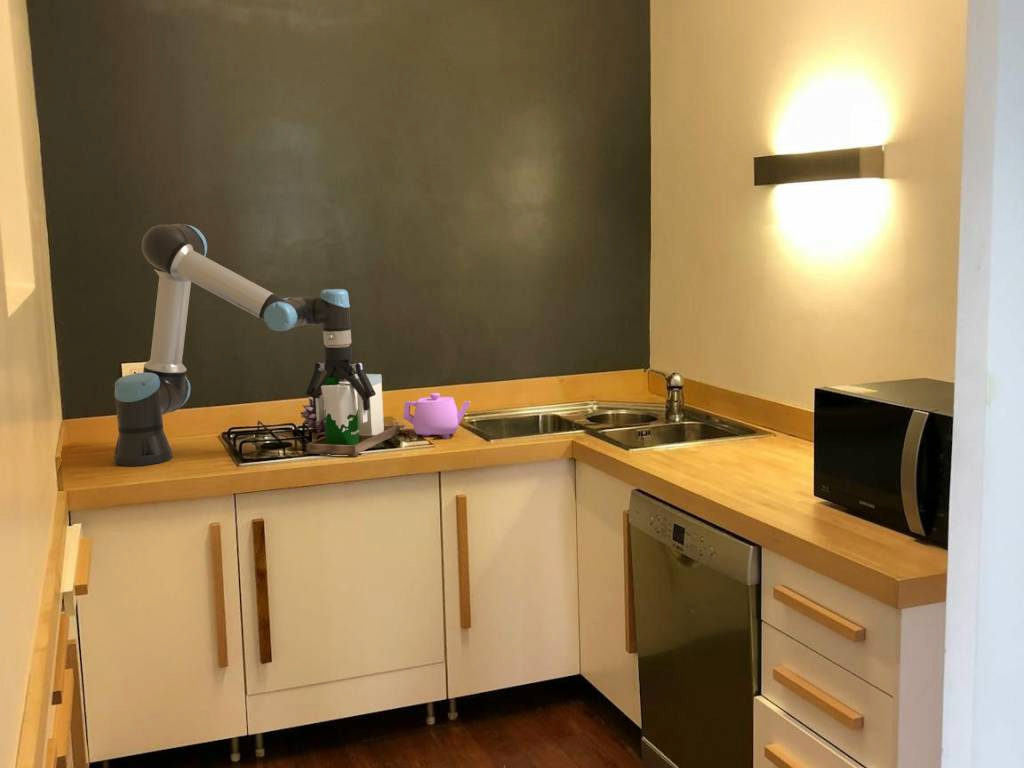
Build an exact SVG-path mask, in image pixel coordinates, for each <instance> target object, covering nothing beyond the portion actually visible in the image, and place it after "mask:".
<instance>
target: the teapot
mask: <svg viewBox="0 0 1024 768" xmlns="http://www.w3.org/2000/svg"><path fill="white" fill-rule="evenodd" d="M429 396H430V397H428V396H427V397H420V398H419V399H418V400H414V401H413V400H412V401H411V400H407V401H406V400H405V402H404V405H403V415H402V419H404V420H405V421H407V422H408V423H410V424H412V426H413V430H414V433H415V434H416V435H421V436H422V437H430V436H431V435H440V436H441V438H442V439H444V440H447V439H451V438H452V436H451V435H453V434H455V433H456V432H457V431H458V428H459V425H460V423H461V421H462V419H463V418H464V415H465V414H466V412H467V410H468V408H469V406H470V405H471V401H468V400H465V401H464V403H463V404H462V406H461V408H460V409H459V410H458V407H457V405H456V401H455V399H454V397H453V396H441V393H439V392H434V393H429ZM411 407H415V409H414V414H413V415H412V414H411Z"/></svg>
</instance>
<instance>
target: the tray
mask: <svg viewBox="0 0 1024 768" xmlns="http://www.w3.org/2000/svg"><path fill="white" fill-rule="evenodd" d="M398 432H400V433H401V426H400V424H399V425H395V424H392V425H391V424H384V431H383V432H381V433H379V434H377V435H363V434H359V443H358V444H356V445H331V444H326V436H325V435H324V436H322V437H320V438H317V439H315V440H312V441H310V442H308V443H306V444H305V449H306V450H305V452H306V455H307V454H330V455H348V456H352V457H351V458H357V457H359V456H361V455H363V453H362V452H363V451H366V450H368V449H370V448H372V447H374V446H376V445H378V444H380V443H383V442H385V441H386V440H387V441H388V439H391V438H392V437H395V436H396V435H395V434H397V433H398ZM394 435H395V436H394ZM397 435H398V434H397ZM360 454H361V455H360ZM358 455H359V456H358Z"/></svg>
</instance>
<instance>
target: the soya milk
mask: <svg viewBox="0 0 1024 768" xmlns="http://www.w3.org/2000/svg"><path fill="white" fill-rule="evenodd" d="M321 390H322V393H321V396H323V403H324V420H325V428H324V434H325V435H324V436H326V444H331V445H356V444H358V443H359V420H358V401H357V391H356V390H355V389H354V387H353V386H352V385H351V384H350V383H349V382H344V381H340V379H336V377H330V378H327V377H325V384H324V385H322V386H321Z"/></svg>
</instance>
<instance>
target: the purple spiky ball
mask: <svg viewBox="0 0 1024 768" xmlns="http://www.w3.org/2000/svg"><path fill="white" fill-rule="evenodd" d="M319 397H323V395H321V396H319ZM308 401H309V404H308V405H307V404H302V407H303V408H304V409H305V410H304V411H300V416H301V418H304V420H303V422H302V423H301V424H302V425H307V426H306V427H307V428H308V429H309V428H310V430H311V431H310V432H311V433H312V432H313V431H314V430H315V429H316V431H317V434H320V433H321V432H324V430H325V420H321V421H317V415H316V409H314V407H313V398H312V397H311V396H309V397H308ZM323 413H324V403H323ZM311 428H315V429H311Z"/></svg>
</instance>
